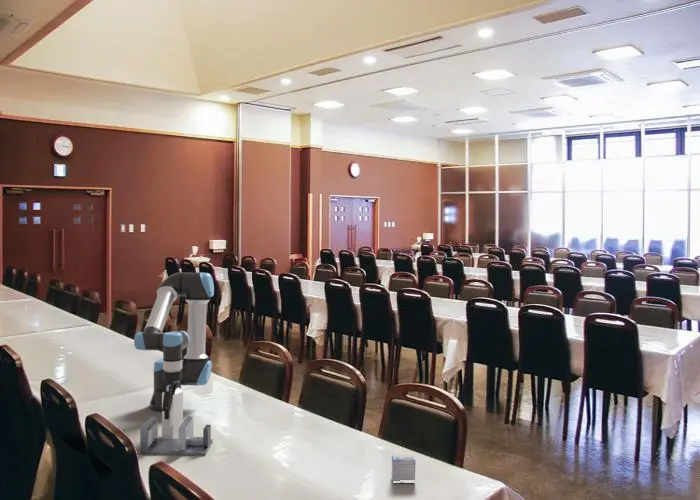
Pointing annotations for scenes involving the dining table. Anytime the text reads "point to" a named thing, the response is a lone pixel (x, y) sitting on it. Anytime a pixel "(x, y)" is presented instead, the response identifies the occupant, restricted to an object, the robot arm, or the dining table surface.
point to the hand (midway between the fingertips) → (172, 420)
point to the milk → (174, 415)
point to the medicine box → (403, 467)
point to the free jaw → (187, 435)
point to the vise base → (164, 442)
